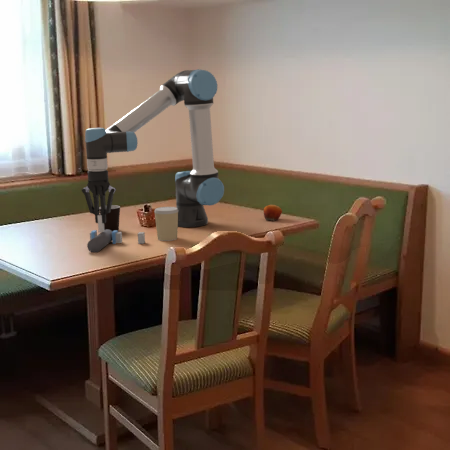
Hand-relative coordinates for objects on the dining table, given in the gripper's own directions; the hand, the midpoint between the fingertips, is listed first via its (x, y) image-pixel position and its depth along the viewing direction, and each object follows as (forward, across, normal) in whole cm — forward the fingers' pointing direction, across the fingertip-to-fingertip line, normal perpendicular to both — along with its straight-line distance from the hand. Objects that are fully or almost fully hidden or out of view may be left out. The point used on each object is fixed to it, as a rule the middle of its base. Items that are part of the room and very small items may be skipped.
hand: (101, 231), depth 253 cm
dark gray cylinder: (+5, +1, -3) cm, 6 cm away
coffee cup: (+5, +23, +11) cm, 26 cm away
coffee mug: (+5, -4, +26) cm, 27 cm away
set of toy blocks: (+5, +5, +4) cm, 8 cm away
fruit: (+6, +62, +48) cm, 79 cm away
